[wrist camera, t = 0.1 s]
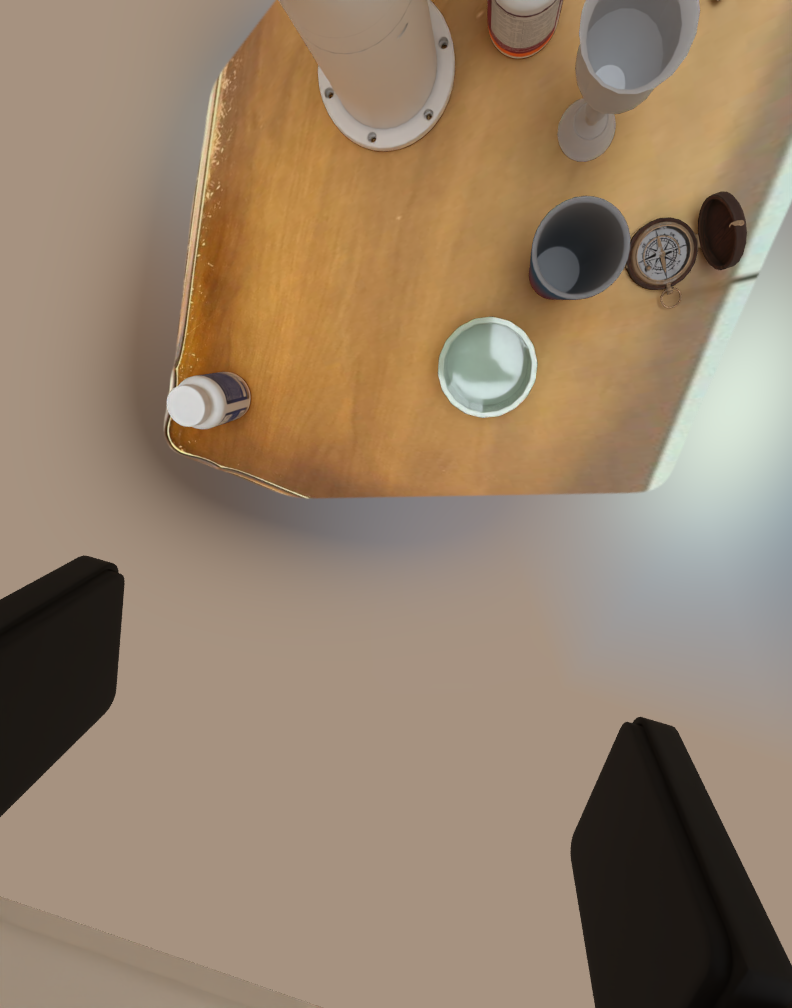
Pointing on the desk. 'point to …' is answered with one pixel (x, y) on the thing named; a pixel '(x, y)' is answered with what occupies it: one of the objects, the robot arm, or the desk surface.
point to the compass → (687, 244)
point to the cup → (579, 249)
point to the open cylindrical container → (487, 367)
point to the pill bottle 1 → (209, 400)
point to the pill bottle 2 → (522, 25)
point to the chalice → (622, 65)
